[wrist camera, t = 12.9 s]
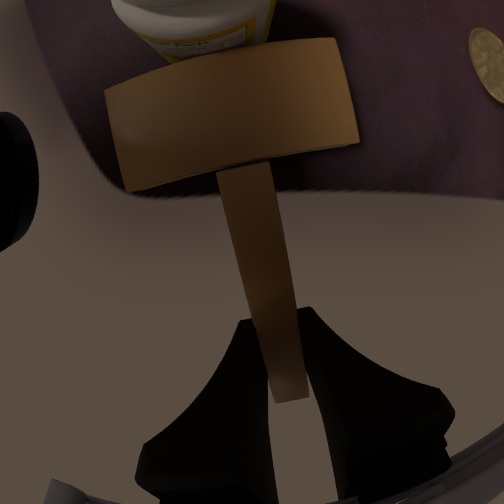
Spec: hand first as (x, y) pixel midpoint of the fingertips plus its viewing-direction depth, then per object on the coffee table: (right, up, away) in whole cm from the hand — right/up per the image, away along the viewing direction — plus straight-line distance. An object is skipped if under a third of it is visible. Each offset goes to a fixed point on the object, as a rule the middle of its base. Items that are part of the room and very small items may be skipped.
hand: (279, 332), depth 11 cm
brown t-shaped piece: (-1, +4, +1) cm, 4 cm away
